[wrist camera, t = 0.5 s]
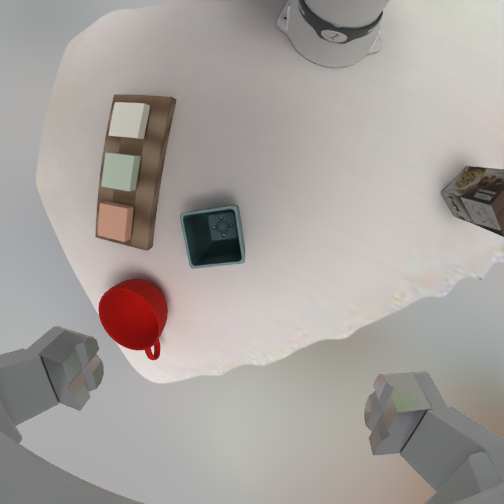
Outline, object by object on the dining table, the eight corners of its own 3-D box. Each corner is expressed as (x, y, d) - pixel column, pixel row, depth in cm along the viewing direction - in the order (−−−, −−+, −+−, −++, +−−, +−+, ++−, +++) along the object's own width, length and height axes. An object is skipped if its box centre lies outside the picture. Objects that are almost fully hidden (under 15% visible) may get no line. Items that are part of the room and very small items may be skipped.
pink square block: (113, 199, 52) (99, 203, 47) (140, 204, 52) (127, 208, 47) (111, 229, 54) (97, 235, 49) (136, 235, 53) (124, 242, 49)
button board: (120, 96, 47) (114, 94, 45) (176, 99, 47) (171, 97, 44) (101, 234, 56) (95, 237, 53) (152, 246, 55) (147, 250, 53)
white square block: (128, 106, 46) (114, 102, 42) (156, 107, 46) (144, 103, 42) (122, 136, 48) (108, 135, 44) (149, 139, 48) (137, 138, 43)
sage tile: (119, 152, 49) (105, 152, 44) (147, 156, 49) (134, 156, 44) (115, 183, 51) (101, 186, 46) (142, 188, 51) (129, 191, 46)
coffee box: (454, 218, 47) (503, 239, 32) (439, 191, 46) (489, 205, 31) (481, 190, 45) (532, 204, 30) (467, 164, 44) (519, 170, 29)
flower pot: (244, 197, 51) (236, 205, 42) (251, 246, 53) (245, 263, 45) (195, 205, 52) (179, 213, 44) (204, 252, 55) (190, 269, 46)
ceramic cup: (144, 343, 62) (126, 369, 53) (113, 276, 58) (87, 295, 49) (194, 335, 60) (179, 363, 51) (163, 261, 56) (141, 281, 46)
